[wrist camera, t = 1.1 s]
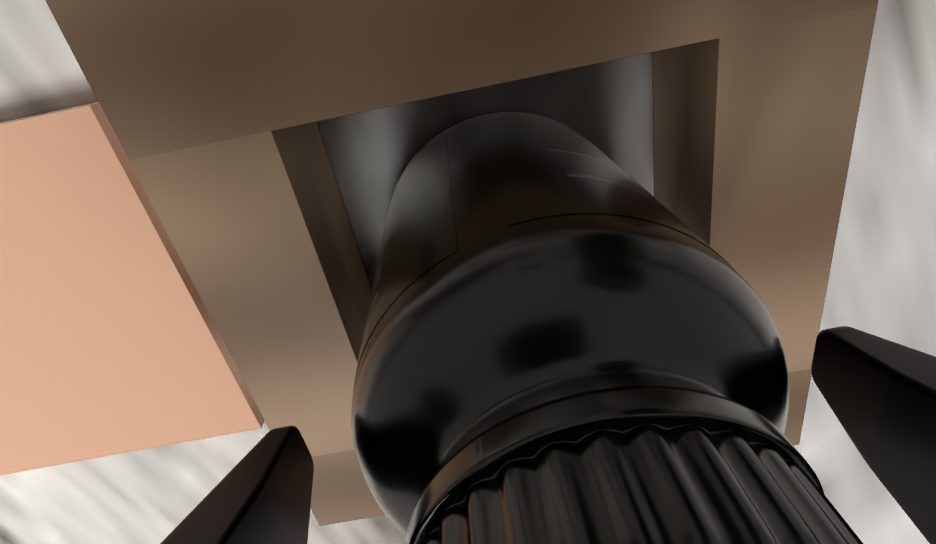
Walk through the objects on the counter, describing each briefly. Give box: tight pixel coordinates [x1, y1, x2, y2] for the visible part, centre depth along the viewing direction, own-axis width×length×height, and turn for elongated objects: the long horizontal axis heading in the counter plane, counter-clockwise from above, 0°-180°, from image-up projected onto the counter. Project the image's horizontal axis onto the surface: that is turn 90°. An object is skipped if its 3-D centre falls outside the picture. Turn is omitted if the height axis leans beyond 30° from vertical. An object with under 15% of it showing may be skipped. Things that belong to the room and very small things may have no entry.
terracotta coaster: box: [0, 102, 264, 475], centre depth 16 cm, size 11×11×1 cm
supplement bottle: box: [351, 112, 863, 544], centre depth 10 cm, size 7×7×12 cm
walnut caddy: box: [46, 0, 878, 526], centre depth 14 cm, size 15×15×4 cm
